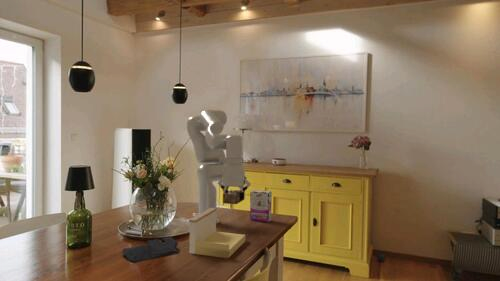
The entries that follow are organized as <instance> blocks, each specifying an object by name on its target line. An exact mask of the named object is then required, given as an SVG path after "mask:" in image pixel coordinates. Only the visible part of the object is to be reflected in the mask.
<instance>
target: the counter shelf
mask: <svg viewBox="0 0 500 281" xmlns="http://www.w3.org/2000/svg"><path fill="white" fill-rule="evenodd" d="M217 210H218V208H217V207H216V208H209V209H207V210H206V211H204V212H202V213H200V214H198V213H197V214H198V215H196V216H195V217H191V218H189V219H188V223H189V250H188V252H189V254H192V255H199V256H207V257H208V256H209V257H214V258H215V257H216V258H223V259H229V258H230V257H231V256H232V255H233V254H234V253H235V252H236V251H237V250H238V249H239V248H240V247H241V246H242V245H243V244H244V243H245V242H246V234H241V233H231V232H222V231H217V224H216V218H217Z"/></svg>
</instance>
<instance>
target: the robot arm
mask: <svg viewBox="0 0 500 281" xmlns="http://www.w3.org/2000/svg"><path fill="white" fill-rule="evenodd" d="M227 121H228V116H227V114H226V112H225V111H224V110H220V109H204V110H203V111H202V112H201V113H200V114H199V115H192V116H190V117H188V119H187V122H186V130H187V134H188V136H189V138H190V140H191V142H192V146H193V150H194V153H195V154H194V155H195V158H196V161H197V162H198V163H199V164H201V165H200V166H198V167H197V170H196V175H197V179H198V180H197V181H198V213H195V212H194V213H193V212H192V217H191V218H193V217H195V216H196V215H198V214H200V213H202V212H204V211H206V210H207V209H209V208H217V201H218V200H217V195H218V193H217V188H216V186H215V185H214V184H213V182H217V185H218V186H219V187H220V189H222V191H223V194H224V193H226V192H229V191H230V190H229V188H230V187H236V188H239V190H241V192H240V201H241V202H243V201H244V200H245V199H244V191H245V192H246V191H247V189H249V187H250V186H251V184H252V183H251V182H250V181H249V180H248V179H247V178H246V172H245V166H244V164H243V137H242V135H239V134H225V133H224V134H221V133H223V130H224V126H225V125H226V124H227ZM203 132H205V133H204V134H203ZM243 199H244V200H243ZM242 200H243V201H242ZM219 223H220V219H218V218H217V217H216V225H218V224H219Z"/></svg>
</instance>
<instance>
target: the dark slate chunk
mask: <svg viewBox="0 0 500 281" xmlns="http://www.w3.org/2000/svg"><path fill="white" fill-rule="evenodd" d="M146 243H147V244H141V245H137V246H132V247H126V248H122V250H121V252H122V253H123V255H124V256H125V258H126V259H127V260H129V262H131V263H134V264H136V263H141V262H145V261H150V260H155V259H159V258H163V257H167V256H171V255H175V254H179V253H180V252H181V250H179V249H178V248H177V246H178V245H179V242H178V241H177V240H176V239H174V238H173V237H172V236H171V235H169V236H166V237H162V238H161V239H157V238H155V239H153V240H152V239H148V240H147V241H146Z"/></svg>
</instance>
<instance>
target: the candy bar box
mask: <svg viewBox="0 0 500 281" xmlns="http://www.w3.org/2000/svg"><path fill="white" fill-rule="evenodd" d="M249 194H250V195H249V196H250V198H249V199H250V202H249V203H250V205H249V207H250V211H249V213H250V215H249V217H250V218H249V220H250V221H254V222H263V223H270V222H271V221H272V197H273V196H272V191H271V190H269V191H268V190H259V189H258V190H257V189H253V190H251V191H250V193H249Z"/></svg>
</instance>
